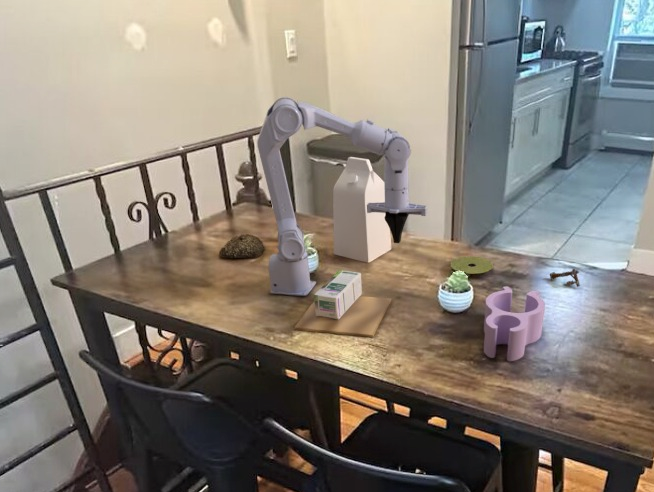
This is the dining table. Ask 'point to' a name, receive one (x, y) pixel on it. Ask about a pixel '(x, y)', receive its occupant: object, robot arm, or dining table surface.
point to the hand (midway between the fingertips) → (397, 241)
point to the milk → (359, 213)
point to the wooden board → (348, 318)
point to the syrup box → (338, 294)
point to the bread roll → (242, 247)
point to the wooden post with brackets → (573, 272)
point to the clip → (512, 323)
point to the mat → (472, 265)
